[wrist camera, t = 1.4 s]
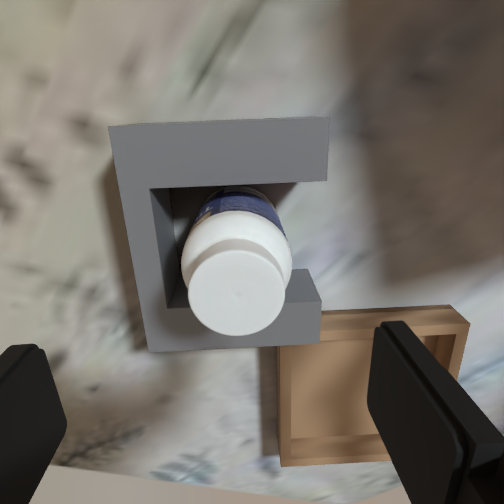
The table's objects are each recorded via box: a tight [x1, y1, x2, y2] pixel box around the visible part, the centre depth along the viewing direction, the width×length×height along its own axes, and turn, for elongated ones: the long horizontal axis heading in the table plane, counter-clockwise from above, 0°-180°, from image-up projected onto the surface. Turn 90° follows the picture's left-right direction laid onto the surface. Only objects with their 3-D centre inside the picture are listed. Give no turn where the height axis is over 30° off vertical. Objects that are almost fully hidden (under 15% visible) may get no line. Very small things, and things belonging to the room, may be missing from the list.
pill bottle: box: [181, 185, 292, 336], centre depth 18 cm, size 5×5×10 cm
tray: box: [277, 305, 470, 467], centre depth 27 cm, size 13×13×2 cm
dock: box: [108, 117, 330, 352], centre depth 21 cm, size 10×13×4 cm
